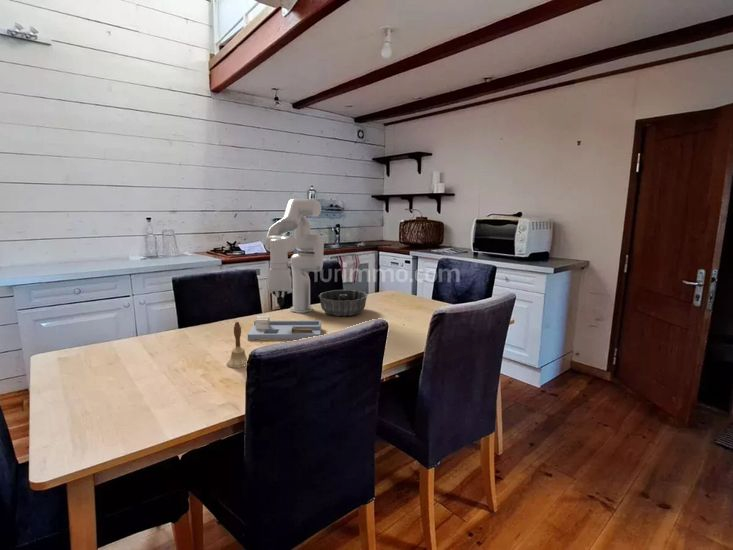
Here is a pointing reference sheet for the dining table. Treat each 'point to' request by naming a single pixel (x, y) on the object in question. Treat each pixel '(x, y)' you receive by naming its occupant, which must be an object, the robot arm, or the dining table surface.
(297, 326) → the tray
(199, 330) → the dining table surface
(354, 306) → the bundt pan
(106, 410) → the dining table surface
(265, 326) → the cream block
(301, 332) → the crook tool
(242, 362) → the hand bell
